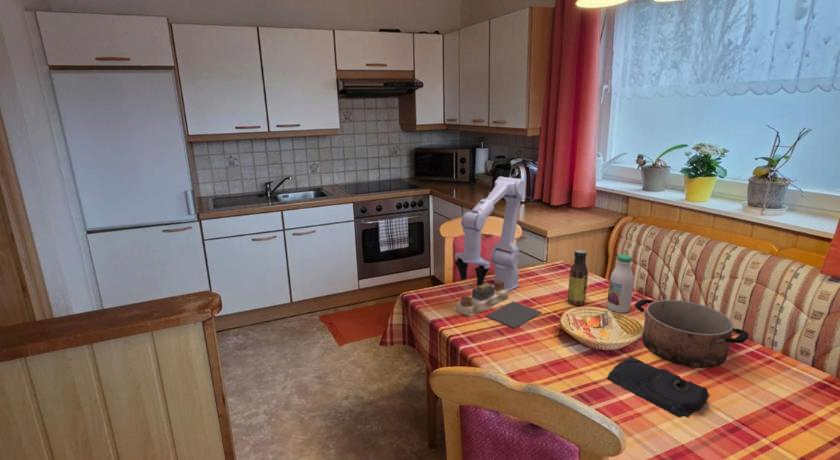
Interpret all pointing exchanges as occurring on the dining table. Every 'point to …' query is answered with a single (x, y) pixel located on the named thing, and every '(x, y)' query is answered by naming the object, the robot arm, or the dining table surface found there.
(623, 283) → the milk bottle
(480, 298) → the lever cap
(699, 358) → the cooking pot
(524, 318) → the rubber mat
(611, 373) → the black flat holed part
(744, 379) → the dining table surface
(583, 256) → the sauce bottle
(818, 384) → the dining table surface
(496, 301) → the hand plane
